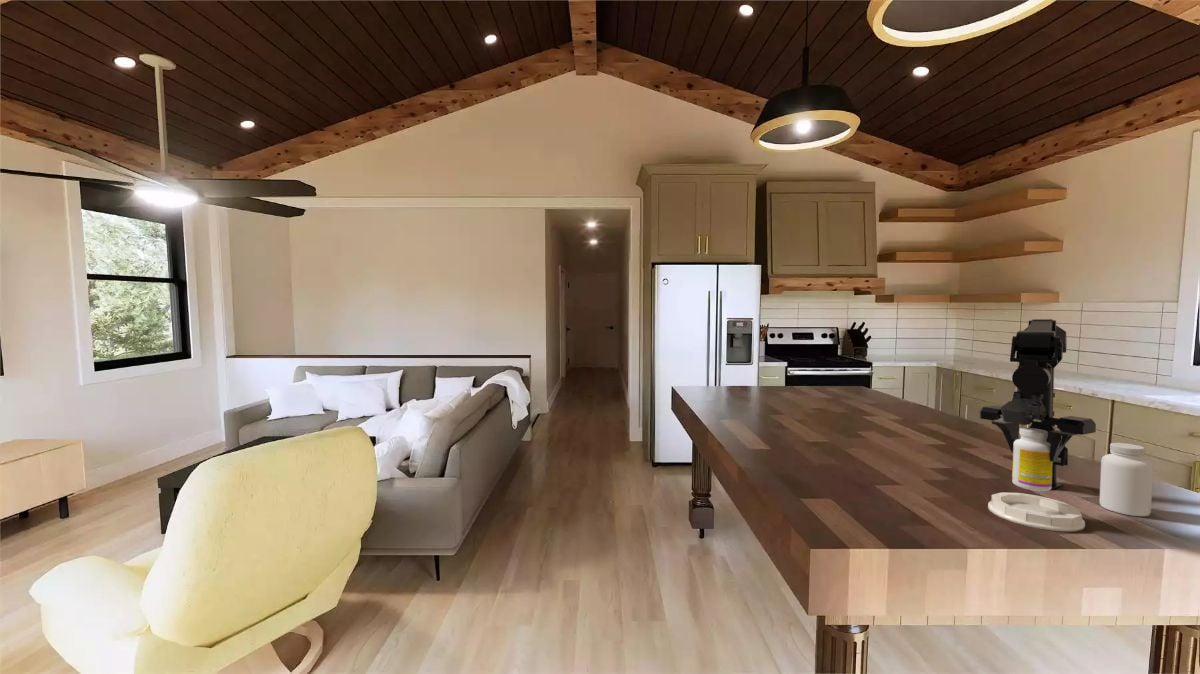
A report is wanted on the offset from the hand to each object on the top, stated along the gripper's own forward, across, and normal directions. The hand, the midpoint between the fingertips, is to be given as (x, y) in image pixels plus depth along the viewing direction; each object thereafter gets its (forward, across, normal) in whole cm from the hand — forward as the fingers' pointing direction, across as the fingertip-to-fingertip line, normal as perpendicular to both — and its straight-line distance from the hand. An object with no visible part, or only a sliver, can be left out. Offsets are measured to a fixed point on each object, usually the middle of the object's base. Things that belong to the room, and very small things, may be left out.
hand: (1032, 457), depth 107 cm
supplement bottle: (+7, 0, 0) cm, 7 cm away
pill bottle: (+13, +7, +22) cm, 27 cm away
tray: (+13, 0, 0) cm, 13 cm away
